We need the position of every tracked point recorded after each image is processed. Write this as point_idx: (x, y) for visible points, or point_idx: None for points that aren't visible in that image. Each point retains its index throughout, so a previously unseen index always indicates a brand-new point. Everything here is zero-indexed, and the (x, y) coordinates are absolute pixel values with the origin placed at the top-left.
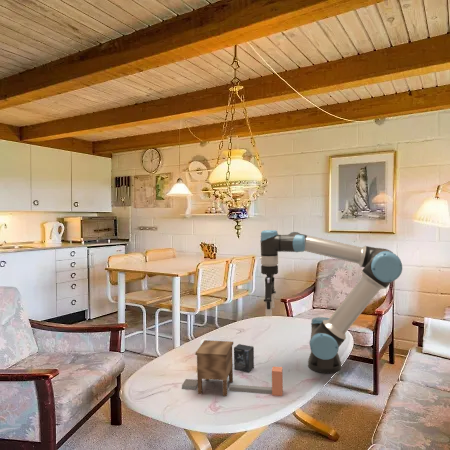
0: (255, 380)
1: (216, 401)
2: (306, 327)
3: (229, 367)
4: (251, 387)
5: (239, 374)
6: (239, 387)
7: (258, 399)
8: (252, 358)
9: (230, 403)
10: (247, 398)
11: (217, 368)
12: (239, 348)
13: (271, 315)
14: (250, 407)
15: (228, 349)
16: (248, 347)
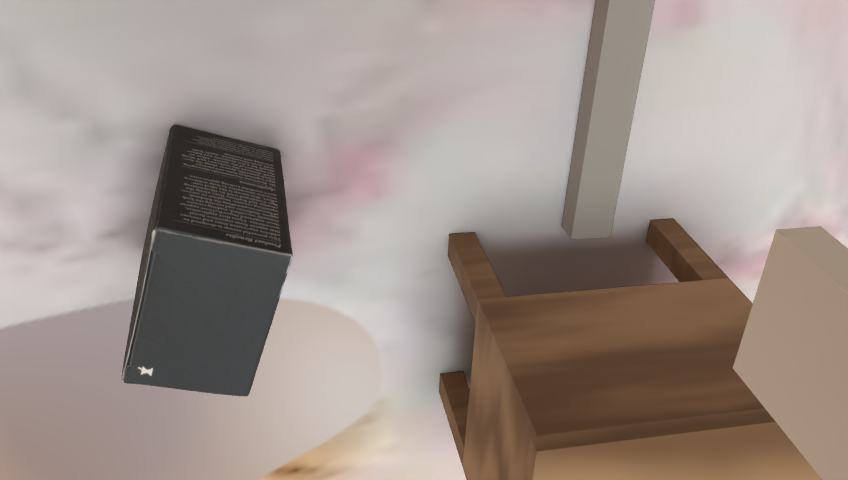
0: (423, 71)
1: (729, 255)
2: None
3: (622, 315)
4: (620, 83)
5: (331, 213)
6: (619, 168)
7: (731, 3)
8: (200, 177)
9: (762, 175)
10: (710, 83)
11: None
12: (258, 347)
13: (833, 251)
14: (828, 43)
15: (751, 430)
16: (207, 275)
